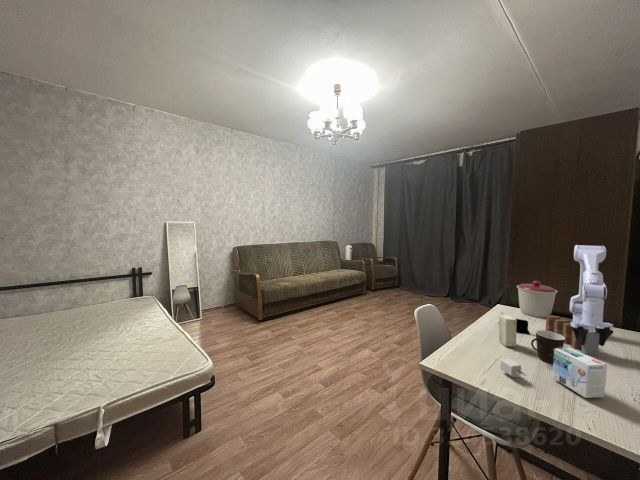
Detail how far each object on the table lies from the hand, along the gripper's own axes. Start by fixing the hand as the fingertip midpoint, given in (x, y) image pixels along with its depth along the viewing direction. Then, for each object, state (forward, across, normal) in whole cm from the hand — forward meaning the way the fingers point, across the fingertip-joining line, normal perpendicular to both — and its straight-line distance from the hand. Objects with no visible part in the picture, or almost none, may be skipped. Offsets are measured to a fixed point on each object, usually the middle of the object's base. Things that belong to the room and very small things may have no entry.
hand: (590, 344), depth 102 cm
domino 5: (+4, 0, 0) cm, 4 cm away
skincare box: (+4, -29, +7) cm, 30 cm away
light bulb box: (+4, -26, -23) cm, 35 cm away
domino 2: (+4, 0, +13) cm, 14 cm away
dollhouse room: (+4, -14, +24) cm, 28 cm away
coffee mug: (+4, -22, -5) cm, 23 cm away
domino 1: (+4, 0, +18) cm, 18 cm away
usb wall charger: (+4, -42, -18) cm, 46 cm away
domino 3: (+4, 0, +9) cm, 10 cm away
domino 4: (+4, 0, +4) cm, 6 cm away
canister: (+4, +12, +44) cm, 46 cm away
